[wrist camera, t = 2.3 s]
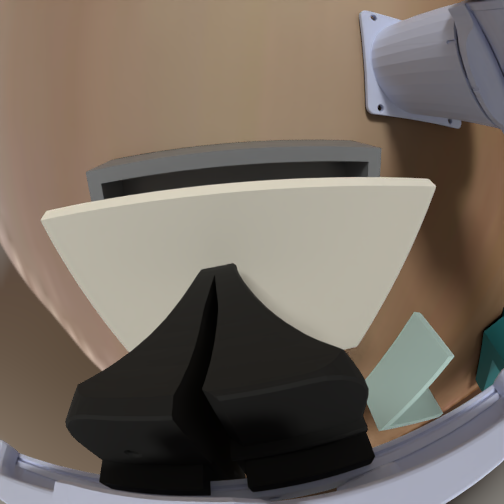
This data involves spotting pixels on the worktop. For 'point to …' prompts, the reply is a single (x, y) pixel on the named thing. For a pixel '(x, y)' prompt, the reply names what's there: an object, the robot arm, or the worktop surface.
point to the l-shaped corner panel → (408, 377)
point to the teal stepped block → (491, 355)
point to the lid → (246, 249)
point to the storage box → (232, 165)
